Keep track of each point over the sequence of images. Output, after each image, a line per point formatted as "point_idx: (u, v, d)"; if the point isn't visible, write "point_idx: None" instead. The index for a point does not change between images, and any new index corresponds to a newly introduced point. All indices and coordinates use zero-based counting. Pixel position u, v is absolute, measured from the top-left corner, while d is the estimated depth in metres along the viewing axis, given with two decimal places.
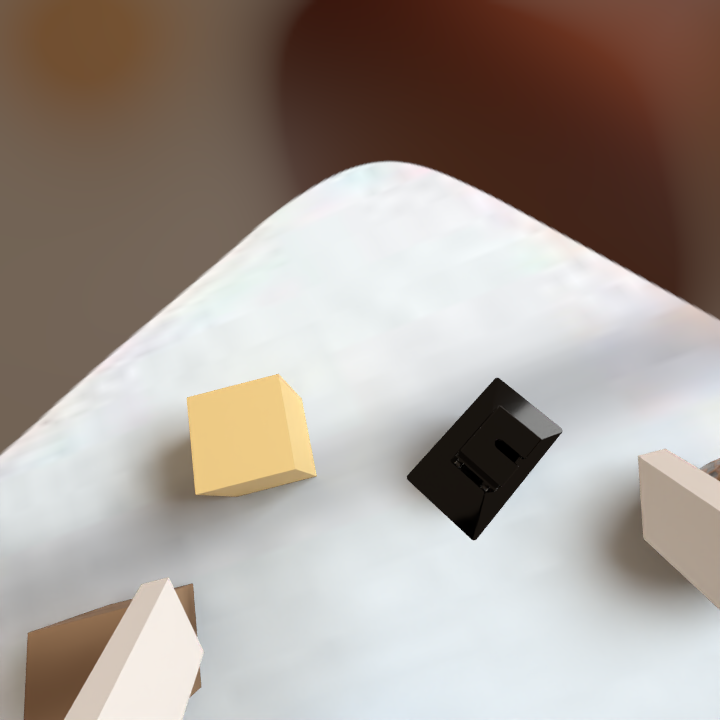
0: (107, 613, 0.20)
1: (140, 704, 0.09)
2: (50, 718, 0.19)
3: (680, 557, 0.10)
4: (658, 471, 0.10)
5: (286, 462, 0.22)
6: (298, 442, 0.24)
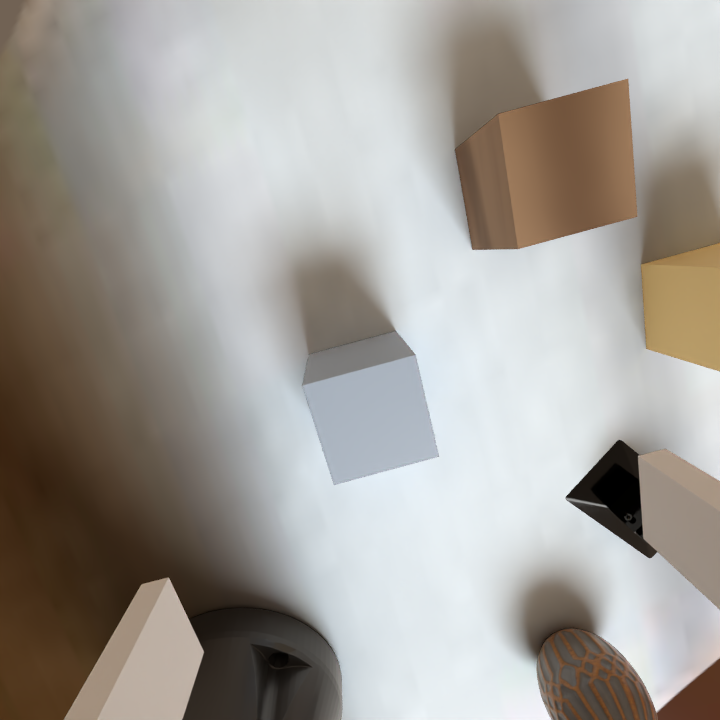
0: (633, 183, 0.18)
1: (141, 704, 0.09)
2: (544, 136, 0.17)
3: (681, 557, 0.10)
4: (658, 471, 0.10)
5: None
6: None
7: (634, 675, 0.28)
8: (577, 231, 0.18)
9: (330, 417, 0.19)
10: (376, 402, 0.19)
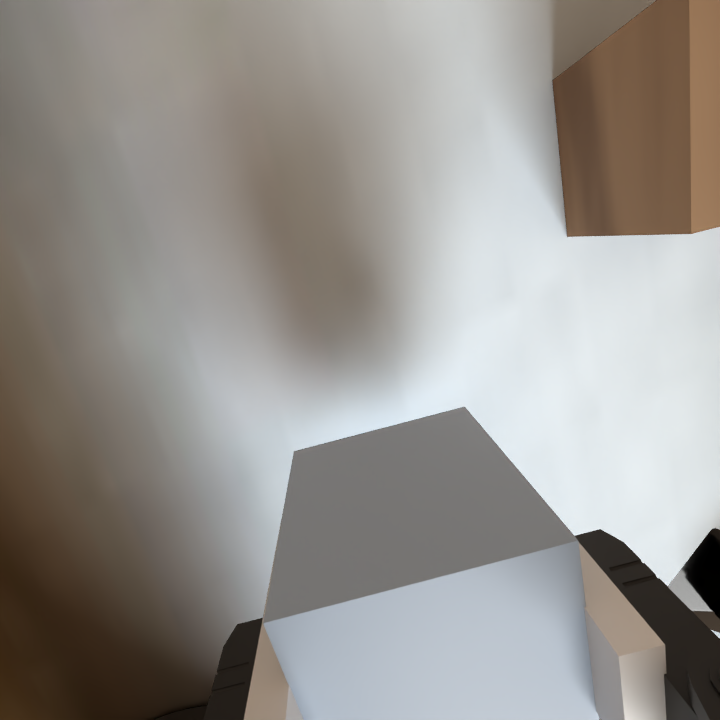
0: None
1: None
2: None
3: None
4: None
5: None
6: None
7: None
8: None
9: (339, 691, 0.07)
10: (461, 652, 0.07)
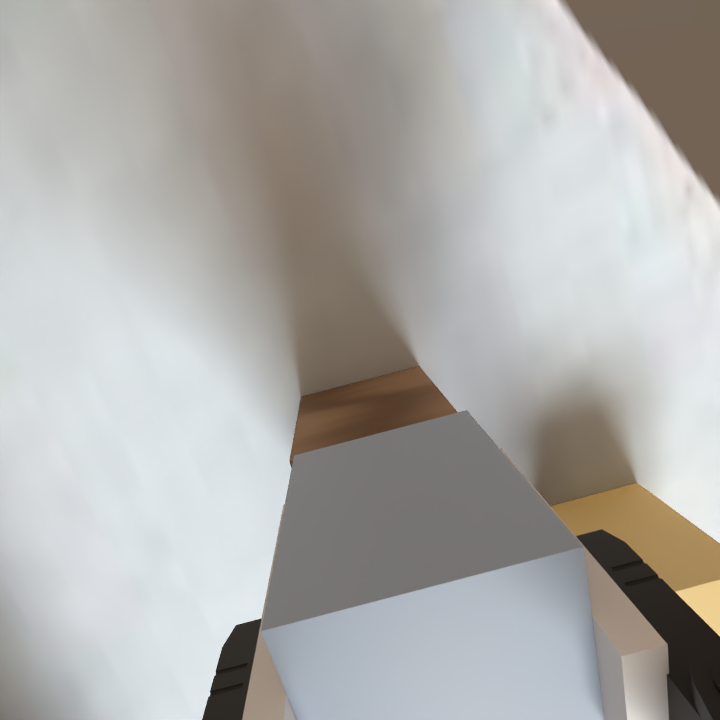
0: None
1: None
2: None
3: None
4: None
5: None
6: None
7: None
8: None
9: (339, 701, 0.07)
10: (464, 663, 0.07)
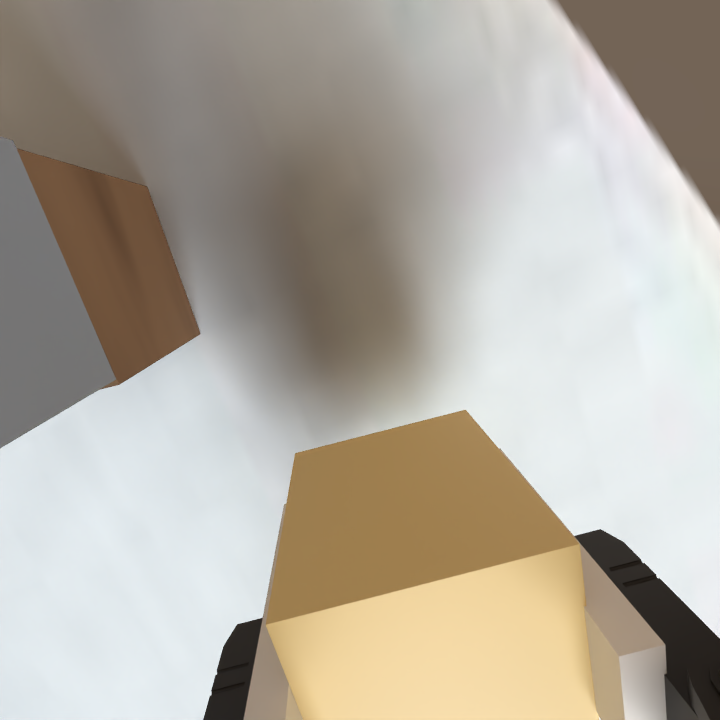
0: None
1: None
2: None
3: None
4: None
5: None
6: None
7: None
8: None
9: None
10: None
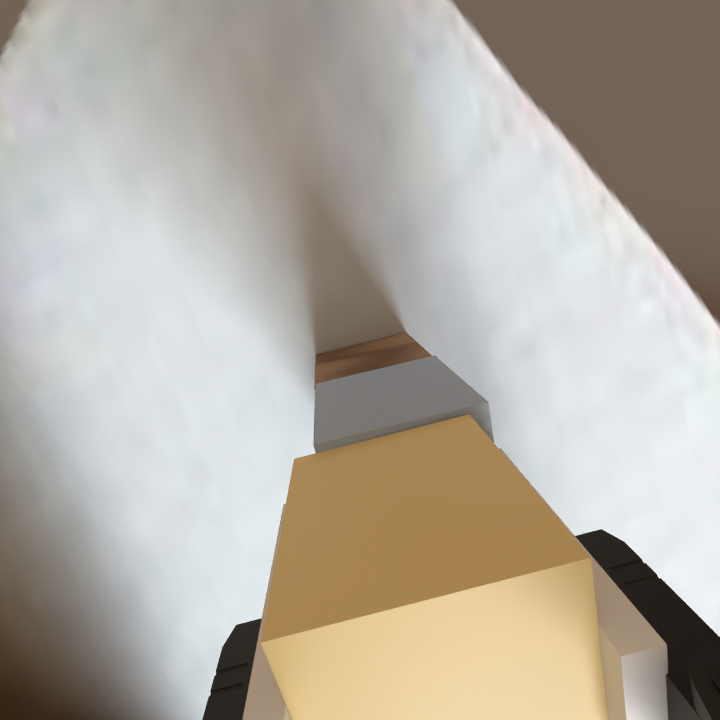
0: None
1: None
2: None
3: None
4: None
5: None
6: None
7: None
8: None
9: None
10: None
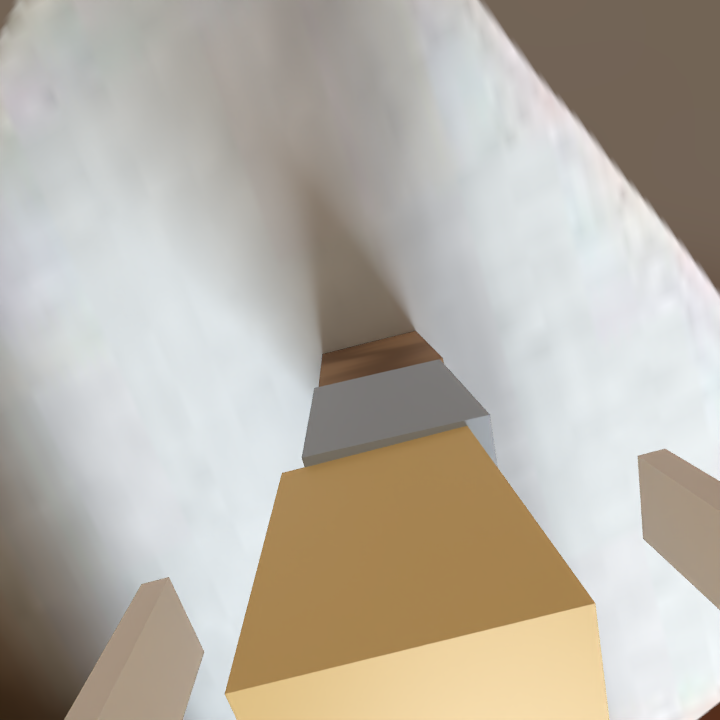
0: None
1: (140, 704, 0.09)
2: None
3: (680, 557, 0.10)
4: (658, 471, 0.10)
5: None
6: None
7: None
8: None
9: None
10: None
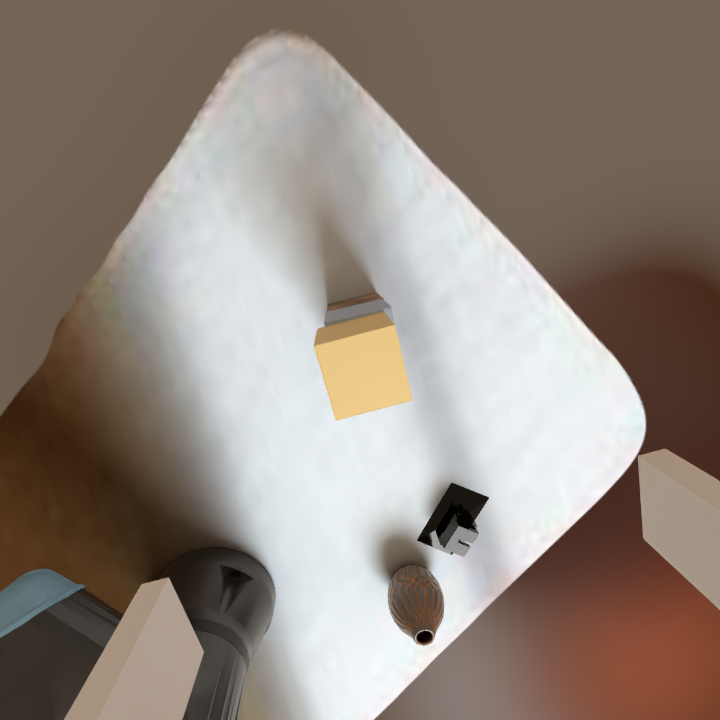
0: None
1: (140, 704, 0.09)
2: None
3: (680, 557, 0.10)
4: (658, 471, 0.10)
5: (340, 413, 0.28)
6: None
7: (434, 586, 0.49)
8: None
9: None
10: None
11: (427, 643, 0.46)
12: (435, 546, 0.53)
